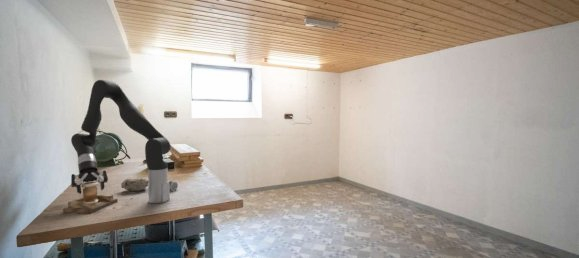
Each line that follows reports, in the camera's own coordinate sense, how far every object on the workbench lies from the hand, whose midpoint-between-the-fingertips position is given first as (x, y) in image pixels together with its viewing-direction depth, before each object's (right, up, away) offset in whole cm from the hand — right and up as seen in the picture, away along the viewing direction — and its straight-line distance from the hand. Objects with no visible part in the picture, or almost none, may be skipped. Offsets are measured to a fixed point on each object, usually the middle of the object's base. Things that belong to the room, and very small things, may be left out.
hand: (91, 191), depth 124 cm
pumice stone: (+4, -7, +29) cm, 30 cm away
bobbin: (-1, -6, +1) cm, 7 cm away
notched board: (-1, -8, +1) cm, 8 cm away
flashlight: (+21, -7, +32) cm, 39 cm away
